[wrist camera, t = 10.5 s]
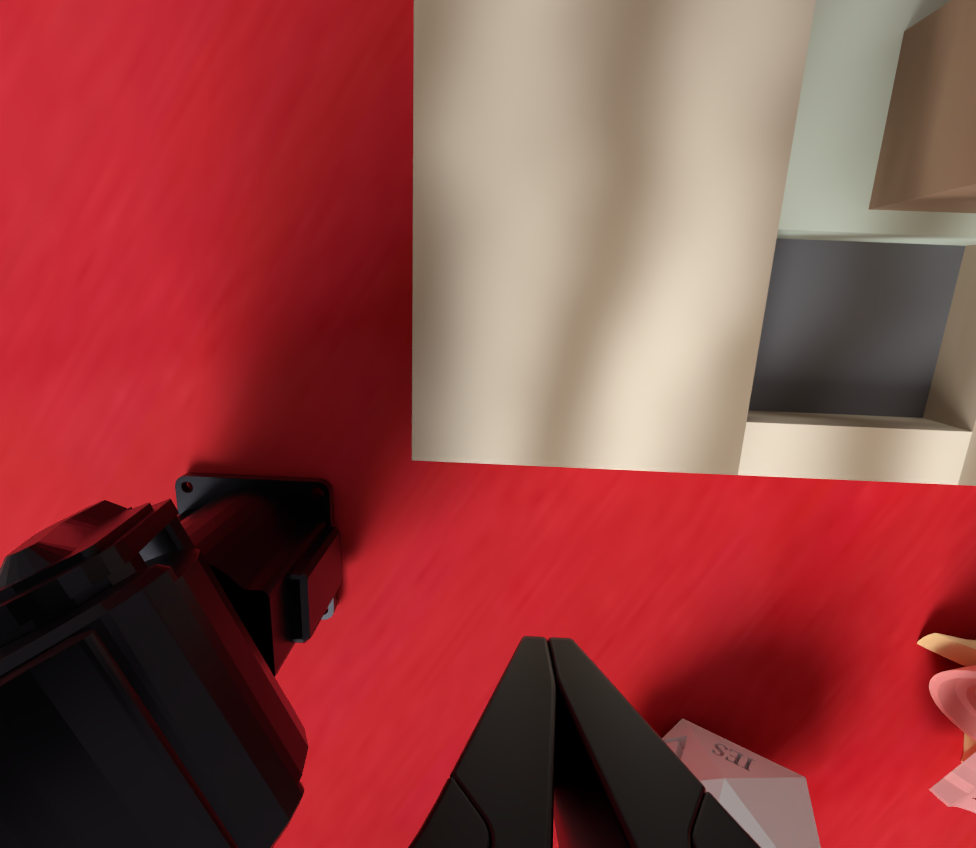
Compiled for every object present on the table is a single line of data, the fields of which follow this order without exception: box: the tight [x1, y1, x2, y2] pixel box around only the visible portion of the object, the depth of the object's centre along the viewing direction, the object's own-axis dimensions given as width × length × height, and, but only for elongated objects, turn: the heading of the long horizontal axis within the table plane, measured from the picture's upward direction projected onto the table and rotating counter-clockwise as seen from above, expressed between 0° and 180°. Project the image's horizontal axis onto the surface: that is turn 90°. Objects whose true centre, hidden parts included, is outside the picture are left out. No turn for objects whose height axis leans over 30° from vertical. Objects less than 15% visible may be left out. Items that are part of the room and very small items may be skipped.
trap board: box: [412, 0, 976, 486], centre depth 16 cm, size 23×24×6 cm
